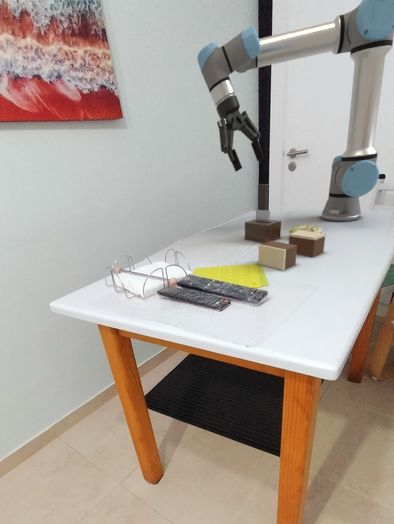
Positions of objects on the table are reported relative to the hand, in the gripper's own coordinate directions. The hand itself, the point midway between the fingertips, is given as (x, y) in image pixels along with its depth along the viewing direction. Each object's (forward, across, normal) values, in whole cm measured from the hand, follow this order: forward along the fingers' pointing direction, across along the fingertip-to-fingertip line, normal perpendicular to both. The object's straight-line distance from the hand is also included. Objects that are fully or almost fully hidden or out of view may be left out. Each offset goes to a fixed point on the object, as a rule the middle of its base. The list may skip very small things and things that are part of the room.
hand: (250, 164), depth 120 cm
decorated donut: (+31, +2, +12) cm, 33 cm away
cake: (+32, +17, +20) cm, 42 cm away
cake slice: (+27, +28, +21) cm, 45 cm away
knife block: (+24, +10, +1) cm, 26 cm away
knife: (+24, +10, 0) cm, 26 cm away
